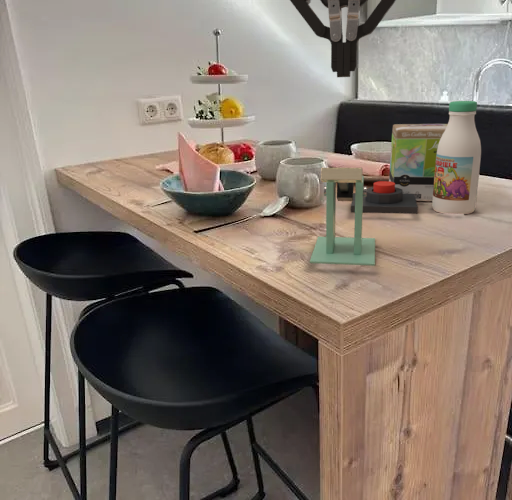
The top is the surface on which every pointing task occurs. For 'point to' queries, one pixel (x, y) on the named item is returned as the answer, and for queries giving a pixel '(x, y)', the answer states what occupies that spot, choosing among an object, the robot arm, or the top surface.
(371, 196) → the button box
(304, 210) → the top surface
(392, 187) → the red button
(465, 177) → the milk bottle
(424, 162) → the tea box
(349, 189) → the switch lever
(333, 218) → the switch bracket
